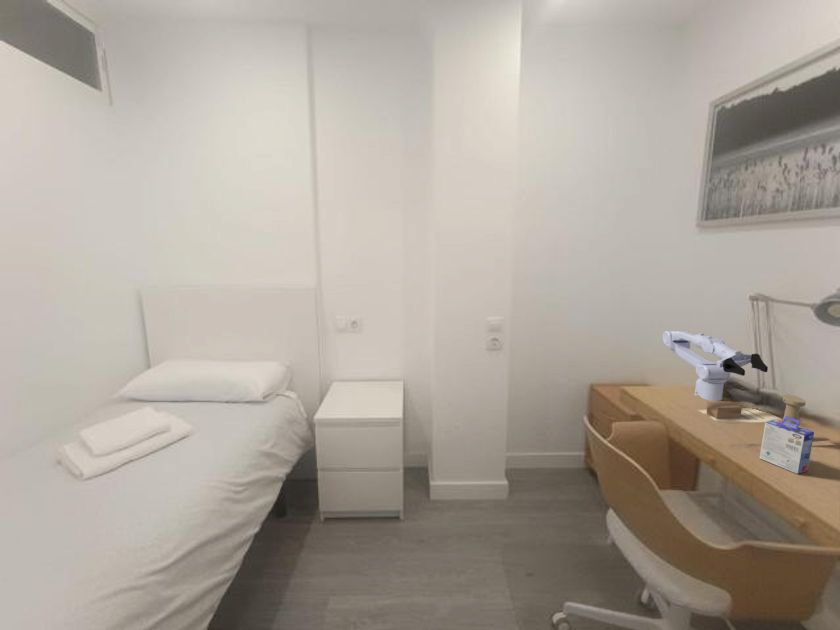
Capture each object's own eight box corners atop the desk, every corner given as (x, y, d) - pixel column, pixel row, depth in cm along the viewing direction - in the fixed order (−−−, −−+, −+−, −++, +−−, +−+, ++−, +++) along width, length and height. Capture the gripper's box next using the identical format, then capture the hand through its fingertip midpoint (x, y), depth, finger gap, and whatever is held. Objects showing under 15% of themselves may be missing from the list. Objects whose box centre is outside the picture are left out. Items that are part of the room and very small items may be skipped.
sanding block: (706, 413, 151) (707, 402, 150) (729, 412, 151) (730, 401, 151) (716, 419, 146) (717, 407, 145) (740, 418, 146) (741, 406, 146)
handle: (790, 437, 135) (796, 395, 132) (802, 446, 129) (809, 403, 126) (773, 435, 136) (779, 394, 134) (784, 445, 130) (791, 401, 128)
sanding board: (688, 411, 157) (688, 407, 156) (757, 408, 158) (757, 405, 157) (719, 430, 141) (720, 426, 141) (796, 427, 142) (797, 423, 142)
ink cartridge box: (809, 470, 116) (817, 424, 113) (798, 475, 114) (806, 428, 111) (768, 454, 125) (775, 411, 122) (758, 458, 123) (764, 414, 120)
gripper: (709, 349, 155) (734, 364, 142) (748, 342, 154) (777, 358, 141) (708, 365, 157) (733, 382, 144) (747, 358, 156) (775, 375, 143)
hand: (755, 371), depth 143 cm, fingers open, 7 cm apart
